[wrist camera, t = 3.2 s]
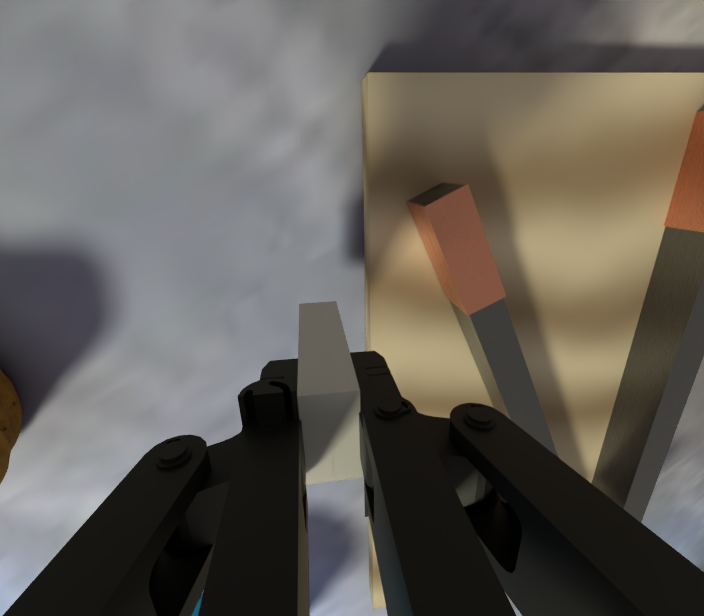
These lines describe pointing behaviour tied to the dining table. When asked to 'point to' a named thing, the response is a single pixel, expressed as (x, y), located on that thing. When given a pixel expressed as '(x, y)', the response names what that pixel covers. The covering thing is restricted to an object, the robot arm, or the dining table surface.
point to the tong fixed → (660, 347)
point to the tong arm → (478, 301)
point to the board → (522, 230)
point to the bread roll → (8, 421)
